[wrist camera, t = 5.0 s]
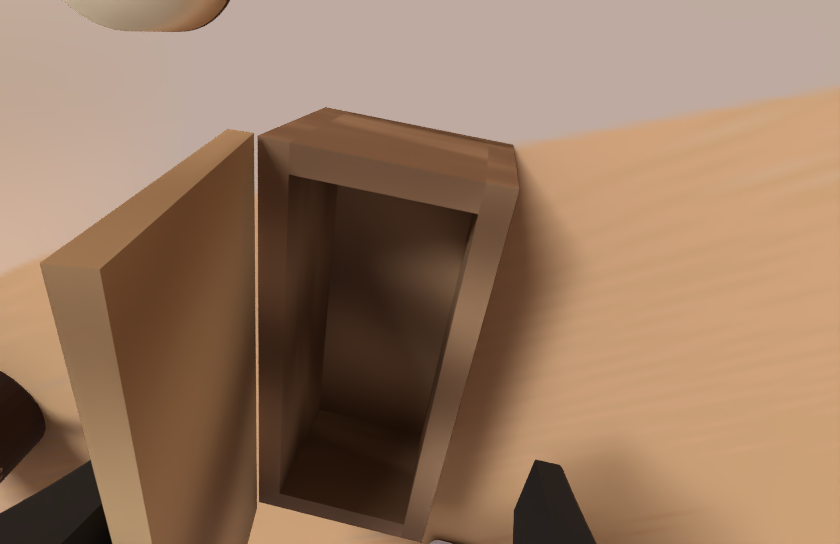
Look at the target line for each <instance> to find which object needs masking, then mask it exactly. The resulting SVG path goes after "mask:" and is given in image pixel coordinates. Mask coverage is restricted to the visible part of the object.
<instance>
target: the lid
mask: <svg viewBox="0 0 840 544" xmlns="http://www.w3.org/2000/svg"><path fill="white" fill-rule="evenodd" d="M40 266H41V270H42V274H43V278H44V282H45V286H46V290H47V293H48V297H49V301H50V305H51V309H52V313H53V316H54V320H55V324H56V328H57V332H58V336H59V340H60V343H61V347H62V351H63V355H64V359H65V363H66V367H67V370H68V374H69V378H70V382H71V386H72V390H73V393H74V397H75V401H76V405H77V409H78V413H79V417H80V420H81V424H82V428H83V432H84V436H85V440H86V444H87V447H88V451H89V455H90V459H91V463H92V467H93V470H94V474H95V478H96V482H97V486H98V490H99V494H100V497H101V501H102V505H103V509H104V513H105V517H106V521H107V524H108V528H109V532H110V536H111V540H112V544H247V543H248V540H249V536H250V532H251V528H252V524H253V521H254V517H255V513H256V509H257V470H256V344H255V219H254V133H249V132H243V131H236V130H229V129H227V130H226V131H224V132H223V133H222V134H220V135H219V136H217V137H216V138H214V139H213V140H212V141H210V142H209V143H208V144H206V145H205V146H203V147H202V148H200V149H199V150H198V151H196V152H195V153H193V154H192V155H191V156H190V157H188V158H186V159H185V160H184V161H182V162H181V163H179V164H178V165H177V166H175V167H174V168H173V169H171V170H170V171H168V172H167V173H165V174H164V175H163V176H161V177H160V178H158V179H157V180H156V181H154V182H153V183H151V184H150V185H149V186H147V187H146V188H144V189H143V190H142V191H140V192H139V193H138V194H136V195H135V196H133V197H132V198H130V199H129V200H128V201H126V202H125V203H123V204H122V205H121V206H119V207H118V208H116V209H115V210H114V211H112V212H111V213H110V214H108V215H107V216H105V217H104V218H102V219H101V220H100V221H98V222H97V223H95V224H94V225H93V226H91V227H90V228H88V229H87V230H86V231H84V232H83V233H81V234H80V235H79V236H77V237H76V238H74V239H73V240H72V241H70V242H69V243H67V244H66V245H65V246H63V247H62V248H60V249H59V250H58V251H56V252H55V253H53V254H52V255H51V256H49V257H48V258H46V259H45V260H44V261H42V262H41V263H40Z"/></svg>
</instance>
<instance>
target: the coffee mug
mask: <svg viewBox="0 0 840 544" xmlns="http://www.w3.org/2000/svg"><path fill="white" fill-rule="evenodd" d="M44 431H45V421H44V418H43V415H42V412H41V411H40V409H39V407H38V405H37V404H36V402H35V401H34V400H33V398H32V397H31V396H30V395H29V394H28V393H27V392H26V391H25V390H24V389H23V387H21V386H20V385H19V384H18V383H17V382H15V381H14V380H13V379H11V378H10V377H8V376H7V375H5V374H4V373H2V372H1V371H0V483H1V482H2V481H3V480H4V479H5V477H6V476H7V475H8V474H9V473H10V472H11V471H12V470H13V469H14V468H15V467H16V466H17V464H18V463H19V462H20V461H21V460H22V459H23V458H24V457H25V456H26V455H27V454H28V453H29V451H30V450H31V449H32V448H33V447H34V446H35V445H36V444H37V443H38V442H39V441H40V439H41V438H42V437H43V435H44Z"/></svg>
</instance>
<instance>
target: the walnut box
mask: <svg viewBox="0 0 840 544" xmlns="http://www.w3.org/2000/svg"><path fill="white" fill-rule="evenodd" d="M519 190H520V189H519V182H518V175H517V168H516V161H515V154H514V147H513V145H511V144H506V143H501V142H496V141H491V140H486V139H481V138H476V137H471V136H466V135H461V134H456V133H451V132H446V131H441V130H436V129H431V128H426V127H421V126H416V125H411V124H406V123H401V122H396V121H391V120H386V119H381V118H376V117H371V116H366V115H361V114H356V113H351V112H346V111H341V110H336V109H331V108H326V107H325V108H323V109H321V110H318V111H316V112H313V113H311V114H309V115H306V116H304V117H301V118H299V119H297V120H294V121H292V122H289V123H287V124H285V125H282V126H280V127H277V128H275V129H273V130H270V131H268V132H265V133H264V134H261V135H258V333H259V502H262V503H266V504H270V505H274V506H278V507H281V508H285V509H289V510H293V511H297V512H301V513H305V514H309V515H313V516H317V517H321V518H325V519H329V520H333V521H337V522H341V523H345V524H349V525H353V526H357V527H361V528H365V529H369V530H373V531H377V532H381V533H385V534H389V535H393V536H397V537H401V538H405V539H409V540H413V541H417V542H421V543H422V539H423V535H424V532H425V528H426V525H427V521H428V517H429V514H430V510H431V507H432V503H433V499H434V496H435V492H436V489H437V485H438V482H439V478H440V474H441V471H442V467H443V464H444V460H445V456H446V453H447V449H448V446H449V442H450V438H451V435H452V431H453V428H454V424H455V420H456V417H457V413H458V410H459V406H460V402H461V399H462V395H463V392H464V388H465V384H466V381H467V377H468V374H469V370H470V366H471V363H472V359H473V356H474V352H475V348H476V345H477V341H478V338H479V334H480V330H481V327H482V323H483V320H484V316H485V312H486V309H487V305H488V302H489V298H490V294H491V291H492V287H493V284H494V280H495V276H496V273H497V269H498V266H499V262H500V258H501V255H502V251H503V248H504V244H505V240H506V237H507V233H508V230H509V226H510V222H511V219H512V215H513V212H514V208H515V204H516V201H517V197H518V194H519Z"/></svg>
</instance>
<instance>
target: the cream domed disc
mask: <svg viewBox="0 0 840 544" xmlns="http://www.w3.org/2000/svg"><path fill="white" fill-rule="evenodd" d="M63 1H64V2H65V3H67V4H68V5H69V6H70V7H71V8H72V9H74V10H75V11H76V12H78V13H79V14H81V15H82V16H84V17H86V18H87V19H89V20H91V21H92V22H95V23H97V24H99V25H102V26H104V27H108V28H111V29H115V30H122V31H162V32H166V31H167V32H182V31H191V30H196V29H199V28H201V27H204V26H206V25H207V24H209V23H210V22H212V21H213V20H215V19H216V18H217V17H218V16H219V15H220V14H221V13H222V12H223V10H224V9H225V8H226V7H227V5H228V3H229V2H230V0H63Z"/></svg>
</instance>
